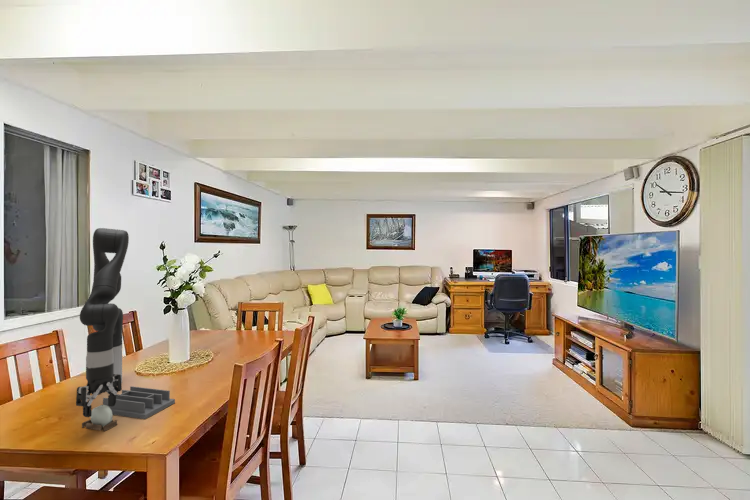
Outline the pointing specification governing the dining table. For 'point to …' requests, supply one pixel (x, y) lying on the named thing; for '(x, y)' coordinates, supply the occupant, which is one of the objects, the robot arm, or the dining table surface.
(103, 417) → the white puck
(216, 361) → the dining table surface
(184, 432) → the dining table surface
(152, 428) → the dining table surface
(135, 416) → the rack
